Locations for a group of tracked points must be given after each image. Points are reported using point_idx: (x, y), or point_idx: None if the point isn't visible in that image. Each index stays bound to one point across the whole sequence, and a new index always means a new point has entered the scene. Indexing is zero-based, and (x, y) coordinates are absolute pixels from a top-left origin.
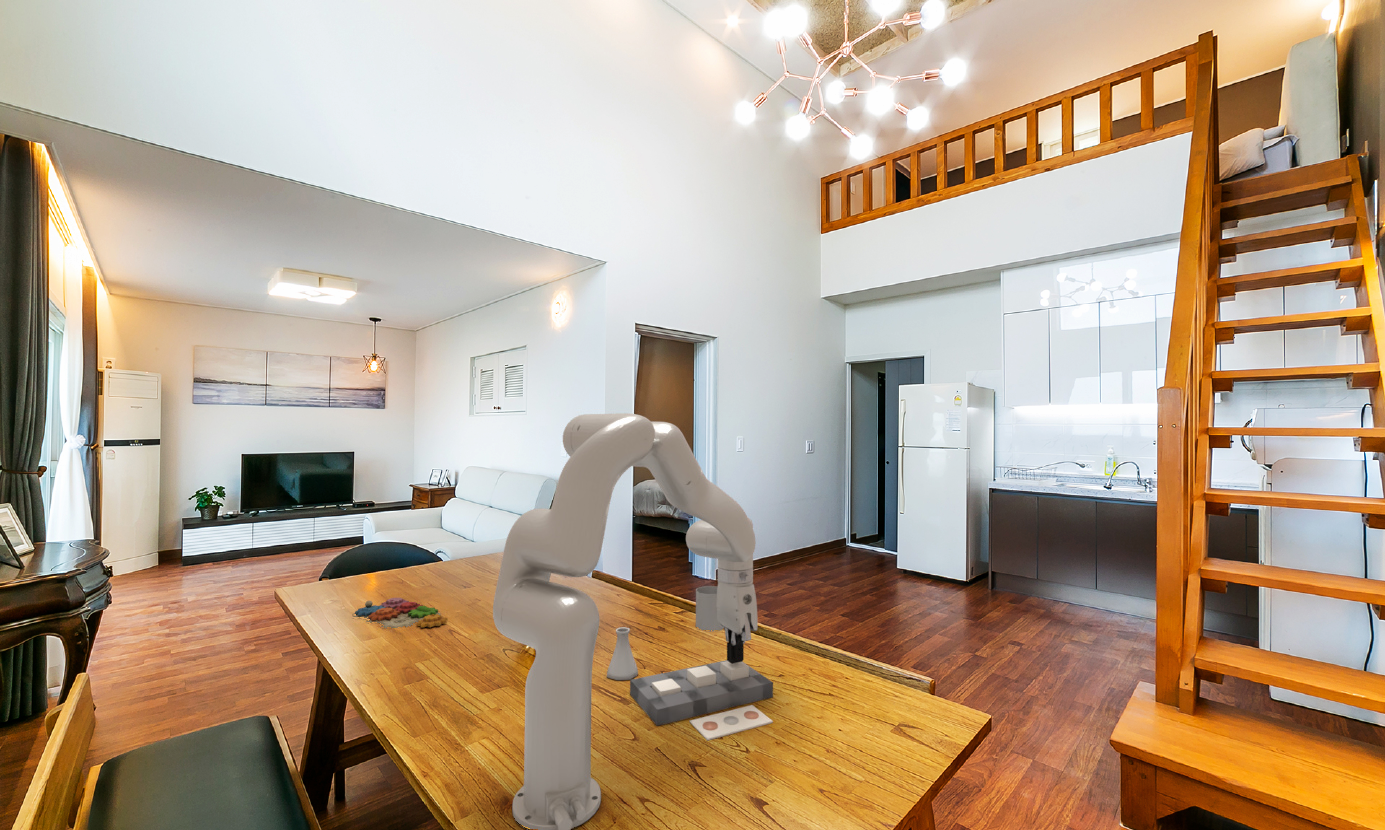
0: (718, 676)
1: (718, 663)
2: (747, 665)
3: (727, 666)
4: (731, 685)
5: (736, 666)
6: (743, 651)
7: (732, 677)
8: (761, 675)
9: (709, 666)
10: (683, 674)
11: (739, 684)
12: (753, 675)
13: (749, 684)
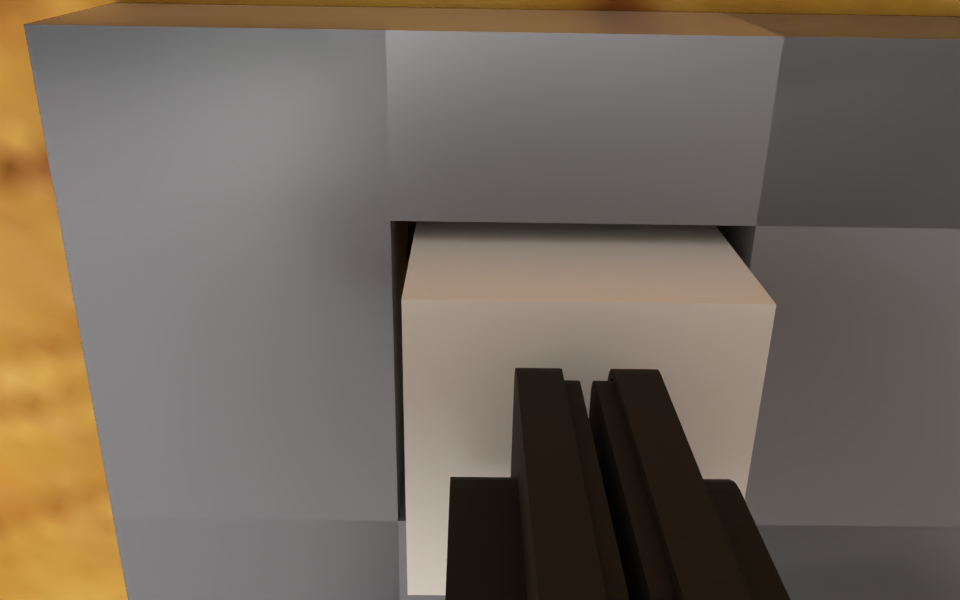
0: None
1: (142, 402)
2: (728, 304)
3: None
4: (824, 572)
5: None
6: (697, 465)
7: None
8: (837, 61)
9: (200, 544)
10: None
11: (862, 484)
12: (759, 176)
13: (949, 383)
